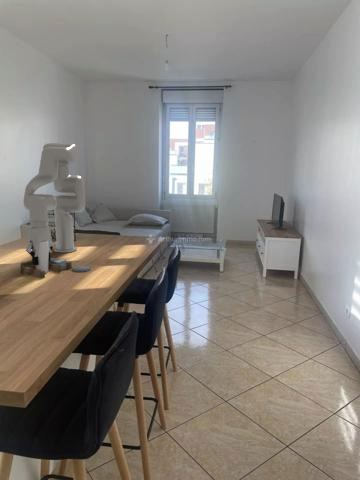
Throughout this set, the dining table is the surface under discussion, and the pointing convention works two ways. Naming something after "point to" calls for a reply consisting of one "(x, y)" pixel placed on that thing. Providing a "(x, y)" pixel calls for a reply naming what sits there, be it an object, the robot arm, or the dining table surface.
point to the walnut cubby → (52, 265)
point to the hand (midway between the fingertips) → (41, 262)
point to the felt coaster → (81, 268)
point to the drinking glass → (43, 256)
